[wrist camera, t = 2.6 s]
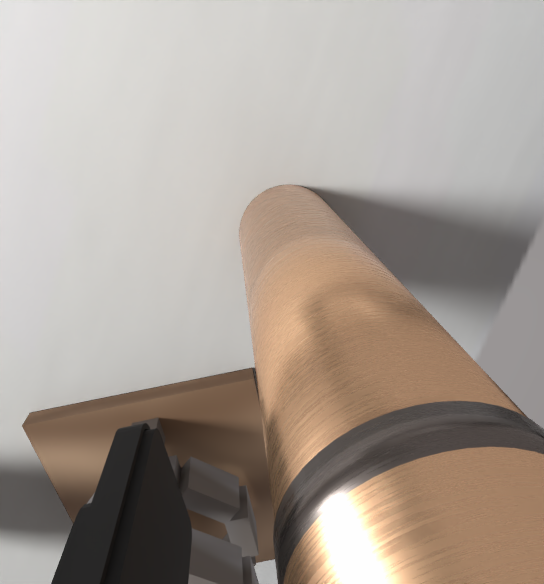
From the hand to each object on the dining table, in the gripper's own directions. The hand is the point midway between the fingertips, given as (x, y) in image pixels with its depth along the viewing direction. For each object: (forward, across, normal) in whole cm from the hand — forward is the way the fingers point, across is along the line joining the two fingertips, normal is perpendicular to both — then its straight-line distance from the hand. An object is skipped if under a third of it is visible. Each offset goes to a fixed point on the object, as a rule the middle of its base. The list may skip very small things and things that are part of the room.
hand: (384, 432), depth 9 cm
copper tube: (+13, 0, -1) cm, 13 cm away
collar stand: (+13, +9, +13) cm, 21 cm away
